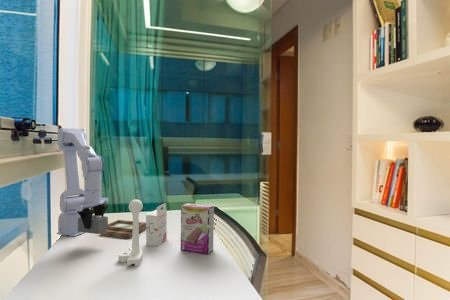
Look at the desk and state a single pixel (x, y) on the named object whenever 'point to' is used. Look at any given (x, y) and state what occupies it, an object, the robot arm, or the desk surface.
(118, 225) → the stand
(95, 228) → the housing
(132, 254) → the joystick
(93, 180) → the robot arm
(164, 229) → the ink cartridge box
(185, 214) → the candy bar box
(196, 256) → the desk surface
